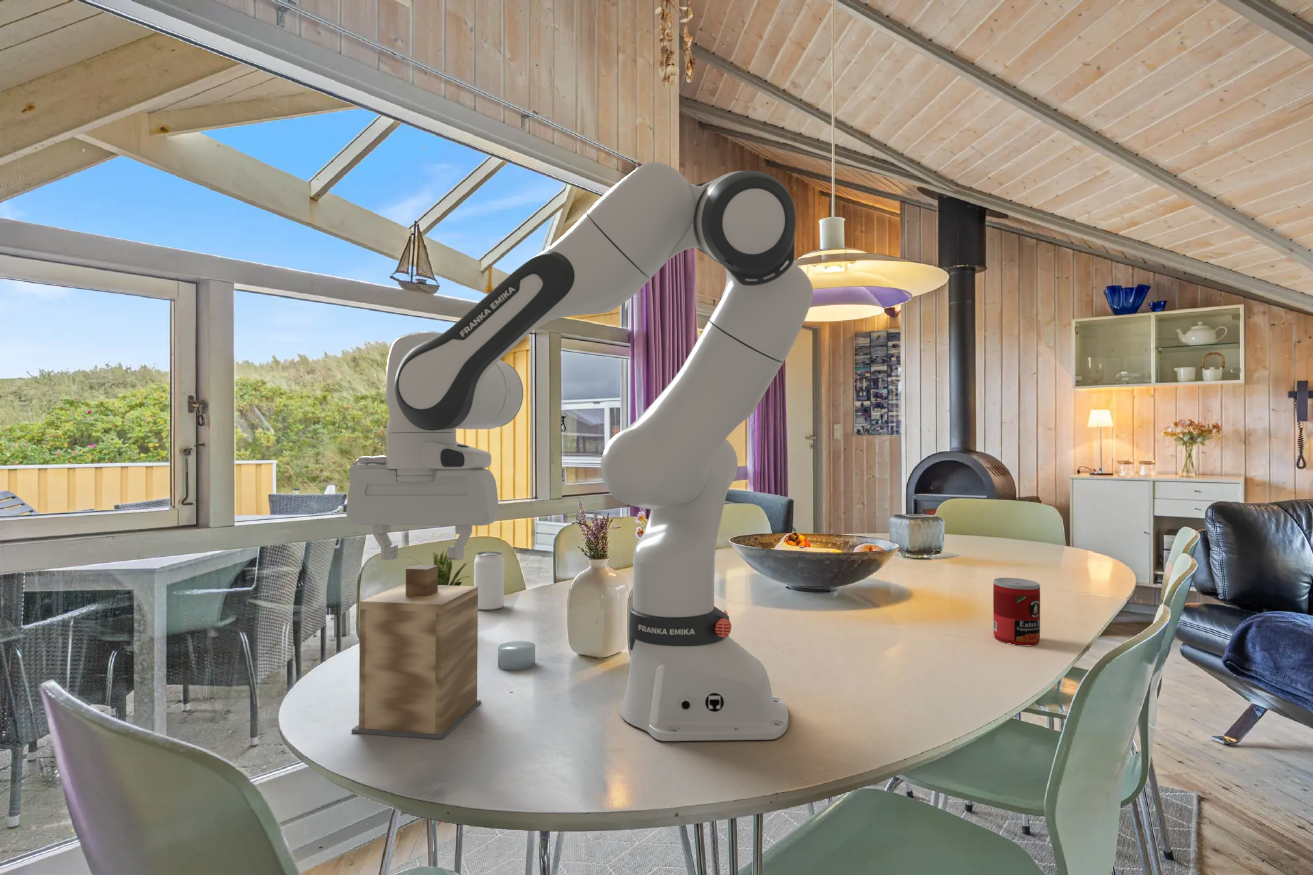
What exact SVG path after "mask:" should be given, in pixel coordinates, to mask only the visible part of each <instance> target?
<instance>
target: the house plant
mask: <svg viewBox="0 0 1313 875" xmlns="http://www.w3.org/2000/svg"><path fill="white" fill-rule="evenodd" d="M431 553H432V556H433V565H437V566H438V585H450V586H462V582H461V580H462V579H464V578H470V576H468V575H467V576H462V577H460V578H458V577H459V575H460V573H461V572H462V570H463V569H464V568H465V567H466V566H467V565H468V564H469V563H470V562H472V560H471V561H468V560H467V561H465V562H464V563H463V564H462V566H461V567H459V569H458V570H456V571H457V572H455V574H454V576H453V578H452V580H451V574H452V569H453V560H448V555H449V553H448V550H447V551H446V552H445V550H443V551H441V553H440V554H438V553H436V552H435V551H433V550H431ZM444 554H445V555H444ZM405 558H407V559H412V560H415V561H417V562H416V565H423V564H422V563H421V562H419V560H417V559H415V558H414V557H413V558H412V557H409V556H408V557H407V556H405ZM411 563H412V564H411ZM407 565H409V566H410V565H411V566H415V562H413V561H411V562H410V564H409V563H408V564H407ZM457 578H458V579H457ZM456 579H457V580H456Z"/></svg>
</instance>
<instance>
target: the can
mask: <svg viewBox="0 0 1313 875" xmlns="http://www.w3.org/2000/svg"><path fill="white" fill-rule="evenodd" d="M473 561H474V562H473V564H474V565H473V569H474V570H473V586H477V587H478V611H495V609H497V610H499V609H498V608H500V609H502V608H503V607H504V604H505V559H504V557H503V552H501V551H497V550H496V551H493V550H492V551H490V550H489V551H480V552H477V553H476V556H475V559H474V560H473Z"/></svg>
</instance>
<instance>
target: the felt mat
mask: <svg viewBox="0 0 1313 875" xmlns="http://www.w3.org/2000/svg"><path fill="white" fill-rule="evenodd" d="M481 703H482V700H479V699H477V702H476V703H475V704H474V705H473V706H472V707H470V708H469V709H468V710H467V711H466V712H465V713H464V714H463V715H462V716H461V717H459V718H458V719H457V720H456V721H455V722H454V723H453V724H452V725H451V726H449V727H448V728H447V729H446V730H445V731H444V732H443V733H442V734H432V733H418V732H404V731H390V730H376V729H362V728H359V724H358V725H356V726H355V727H353V728H352V729H351V733H352V734H362V735H363V734H364V735H375V736H376V735H377V736H389V737H390V736H393V737H403V738H405V737H406V738H419V739H432V740H443V739H444V738H445V737H446V736H447V735H448V734H449V733H450V732H451V731H452V730H453V729H455V728H456V727H457V726H458V725H459V724H460V723H461V722H462V721H464V719H465V718H467V717H468V716H469V715H470V714H471V713H472V712H473V711H474V710H475V709H476V708H477V707H479V706H480V705H481ZM479 704H480V705H479Z"/></svg>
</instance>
